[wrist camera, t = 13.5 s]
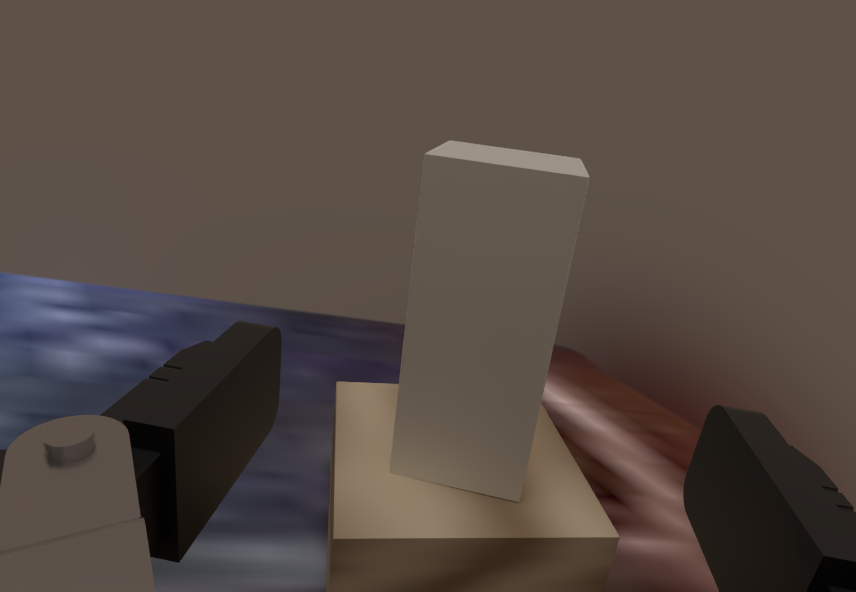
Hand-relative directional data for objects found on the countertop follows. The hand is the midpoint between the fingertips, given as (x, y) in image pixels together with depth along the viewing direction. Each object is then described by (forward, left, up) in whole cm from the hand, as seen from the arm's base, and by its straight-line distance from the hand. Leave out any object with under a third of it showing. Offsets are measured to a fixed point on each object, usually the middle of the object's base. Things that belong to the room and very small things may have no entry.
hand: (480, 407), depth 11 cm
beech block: (-8, +8, -14) cm, 17 cm away
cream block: (-8, +8, -8) cm, 14 cm away
